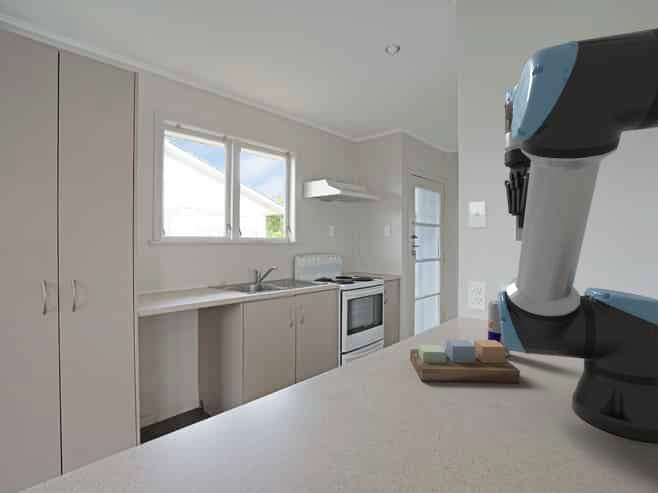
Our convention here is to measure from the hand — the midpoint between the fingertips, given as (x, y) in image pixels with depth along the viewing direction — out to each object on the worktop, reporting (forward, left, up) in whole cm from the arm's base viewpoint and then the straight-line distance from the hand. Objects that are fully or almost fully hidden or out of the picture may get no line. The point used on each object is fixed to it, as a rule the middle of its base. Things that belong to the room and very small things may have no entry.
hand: (519, 240), depth 91 cm
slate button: (-6, +17, -29) cm, 34 cm away
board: (-6, +17, -32) cm, 37 cm away
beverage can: (+7, +2, -33) cm, 33 cm away
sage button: (-6, +24, -31) cm, 40 cm away
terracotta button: (-6, +10, -29) cm, 32 cm away
